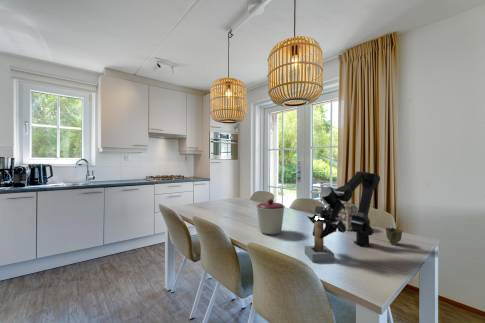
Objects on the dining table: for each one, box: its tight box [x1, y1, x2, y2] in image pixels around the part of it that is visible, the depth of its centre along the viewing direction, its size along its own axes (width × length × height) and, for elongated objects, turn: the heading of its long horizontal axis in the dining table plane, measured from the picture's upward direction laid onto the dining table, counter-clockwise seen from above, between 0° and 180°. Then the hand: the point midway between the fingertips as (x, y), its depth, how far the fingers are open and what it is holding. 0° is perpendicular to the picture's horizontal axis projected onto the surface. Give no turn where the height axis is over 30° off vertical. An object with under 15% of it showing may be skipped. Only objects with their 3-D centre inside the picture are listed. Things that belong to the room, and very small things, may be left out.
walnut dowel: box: [313, 221, 324, 252], centre depth 107 cm, size 4×4×13 cm
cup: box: [385, 227, 403, 246], centre depth 124 cm, size 8×7×8 cm
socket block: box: [304, 244, 335, 263], centre depth 107 cm, size 10×10×4 cm
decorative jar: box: [336, 200, 359, 232], centre depth 155 cm, size 12×12×18 cm
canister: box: [255, 198, 286, 236], centre depth 145 cm, size 18×18×21 cm
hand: (316, 236), depth 107 cm, fingers closed on walnut dowel, 4 cm apart
